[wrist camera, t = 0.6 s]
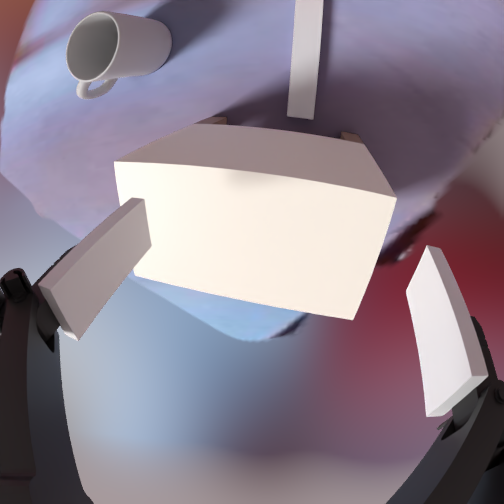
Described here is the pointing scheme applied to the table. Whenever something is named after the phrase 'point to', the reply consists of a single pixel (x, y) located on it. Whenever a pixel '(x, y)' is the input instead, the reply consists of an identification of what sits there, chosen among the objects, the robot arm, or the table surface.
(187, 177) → the cabinet
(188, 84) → the table surface
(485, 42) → the table surface
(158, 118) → the table surface
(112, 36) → the mug
